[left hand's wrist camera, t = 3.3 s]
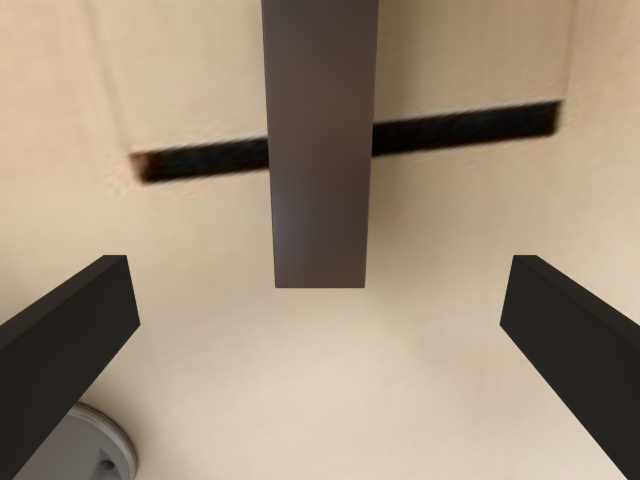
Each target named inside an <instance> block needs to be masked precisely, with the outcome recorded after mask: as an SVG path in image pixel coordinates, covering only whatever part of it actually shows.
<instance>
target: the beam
mask: <svg viewBox="0 0 640 480" xmlns="http://www.w3.org/2000/svg"><path fill="white" fill-rule="evenodd" d="M261 4H262V25H263V45H264V66H265V87H266V107H267V128H268V149H269V169H270V190H271V211H272V231H273V252H274V273H275V287H276V288H365V275H366V255H367V234H368V213H369V193H370V172H371V152H372V131H373V110H374V90H375V69H376V49H377V28H378V7H379V0H261Z"/></svg>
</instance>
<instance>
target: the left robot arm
mask: <svg viewBox="0 0 640 480" xmlns="http://www.w3.org/2000/svg"><path fill="white" fill-rule="evenodd" d="M139 326H140V320H139V315H138V310H137V305H136V300H135V295H134V290H133V285H132V280H131V275H130V271H129V266H128V261H127V256H126V255H103V256H102V257H100V258H99V259H97V260H96V261H94V262H93V263H92V264H90V265H89V266H87V267H86V268H84V269H83V270H81V271H80V272H78V273H77V274H75V275H74V276H72V277H71V278H70V279H68V280H67V281H65V282H64V283H62V284H61V285H59V286H58V287H56V288H55V289H53V290H52V291H50V292H49V293H48V294H46V295H45V296H43V297H42V298H40V299H39V300H37V301H36V302H34V303H33V304H31V305H30V306H28V307H27V308H26V309H24V310H23V311H21V312H20V313H18V314H17V315H15V316H14V317H12V318H11V319H9V320H8V321H6V322H5V323H4V324H2V325H1V326H0V480H133V478H134V476H135V473H136V467H137V460H136V455H135V451H134V449H133V446H132V444H131V442H130V440H129V439H128V438H127V436H126V435H125V434H124V432H123V431H122V430H121V429H120V428H119V427H118V426H117V425H116V424H115V423H114V422H112V421H111V420H110V419H108V418H107V417H106V416H104V415H102V414H101V413H99V412H97V411H95V410H93V409H91V408H89V407H87V406H84V405H82V404H79V403H76V402H77V401H78V400H79V399H80V397H81V396H82V395H83V394H84V392H85V391H86V390H87V389H88V388H89V386H90V385H91V384H92V383H93V382H94V380H95V379H96V378H97V377H98V376H99V374H100V373H101V372H102V371H103V370H104V368H105V367H106V366H107V365H108V363H109V362H110V361H111V360H112V359H113V357H114V356H115V355H116V354H117V353H118V351H119V350H120V349H121V348H122V347H123V345H124V344H125V343H126V342H127V340H128V339H129V338H130V337H131V336H132V334H133V333H134V332H135V331H136V330H137V328H138V327H139ZM500 326H501V327H502V328H503V330H504V331H505V332H506V333H507V334H508V336H509V337H510V338H511V339H512V340H513V342H514V343H515V344H516V345H517V347H518V348H519V349H520V350H521V351H522V353H523V354H524V355H525V356H526V357H527V359H528V360H529V361H530V362H531V363H532V365H533V366H534V367H535V368H536V370H537V371H538V372H539V373H540V374H541V376H542V377H543V378H544V379H545V380H546V382H547V383H548V384H549V385H550V386H551V388H552V389H553V390H554V391H555V392H556V394H557V395H558V396H559V397H560V399H561V400H562V401H563V402H564V403H565V405H566V406H567V407H568V408H569V409H570V411H571V412H572V413H573V414H574V415H575V417H576V418H577V419H578V420H579V421H580V423H581V424H582V425H583V426H584V428H585V429H586V430H587V431H588V432H589V434H590V435H591V436H592V437H593V438H594V440H595V441H596V442H597V443H598V444H599V446H600V447H601V448H602V449H603V451H604V452H605V453H606V454H607V455H608V457H609V458H610V459H611V460H612V461H613V463H614V464H615V465H616V466H617V467H618V469H619V470H620V471H621V472H622V473H623V475H624V476H625V477H626V478H627V480H640V326H639V325H638V324H636V323H635V322H634V321H632V320H631V319H629V318H628V317H626V316H625V315H623V314H622V313H620V312H619V311H617V310H616V309H614V308H613V307H612V306H610V305H609V304H607V303H606V302H604V301H603V300H601V299H600V298H598V297H597V296H595V295H594V294H592V293H591V292H590V291H588V290H587V289H585V288H584V287H582V286H581V285H579V284H578V283H576V282H575V281H573V280H572V279H570V278H569V277H568V276H566V275H565V274H563V273H562V272H560V271H559V270H557V269H556V268H554V267H553V266H551V265H550V264H548V263H547V262H546V261H544V260H543V259H541V258H540V257H538V256H537V255H514V256H513V261H512V266H511V271H510V275H509V280H508V285H507V290H506V295H505V300H504V305H503V310H502V315H501V320H500Z"/></svg>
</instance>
